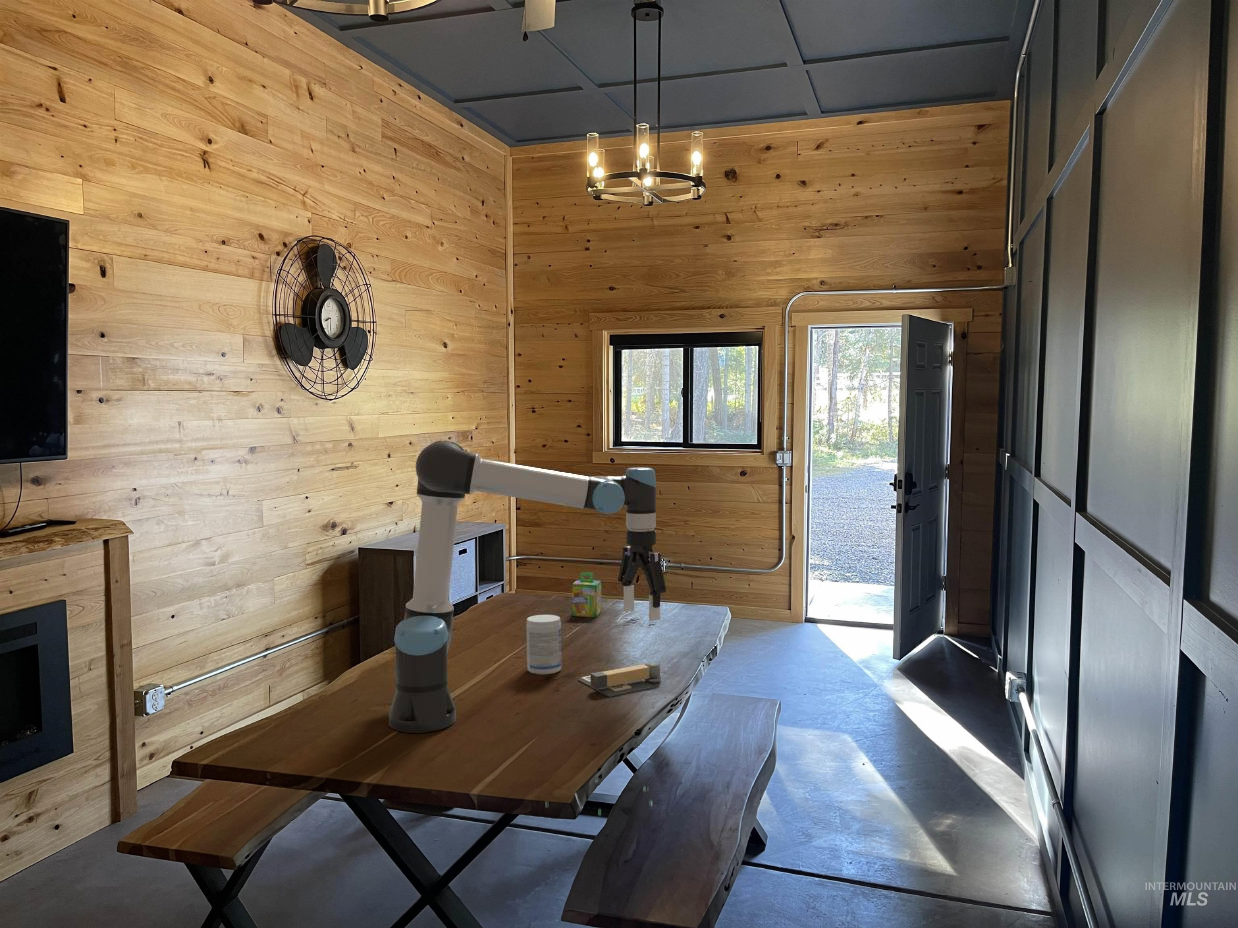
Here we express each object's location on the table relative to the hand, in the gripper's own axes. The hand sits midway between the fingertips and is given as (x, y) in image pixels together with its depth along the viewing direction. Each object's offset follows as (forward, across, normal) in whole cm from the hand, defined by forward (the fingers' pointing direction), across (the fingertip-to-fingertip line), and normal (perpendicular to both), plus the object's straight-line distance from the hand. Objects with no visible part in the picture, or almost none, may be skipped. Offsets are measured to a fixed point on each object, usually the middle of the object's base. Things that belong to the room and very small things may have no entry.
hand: (641, 615), depth 220 cm
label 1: (+20, +16, +5) cm, 26 cm away
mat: (+20, +10, +2) cm, 22 cm away
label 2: (+20, +6, +3) cm, 21 cm away
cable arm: (+19, +7, 0) cm, 20 cm away
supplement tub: (+20, +31, +12) cm, 39 cm away
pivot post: (+20, +7, -8) cm, 23 cm away
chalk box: (+20, +83, -31) cm, 91 cm away
